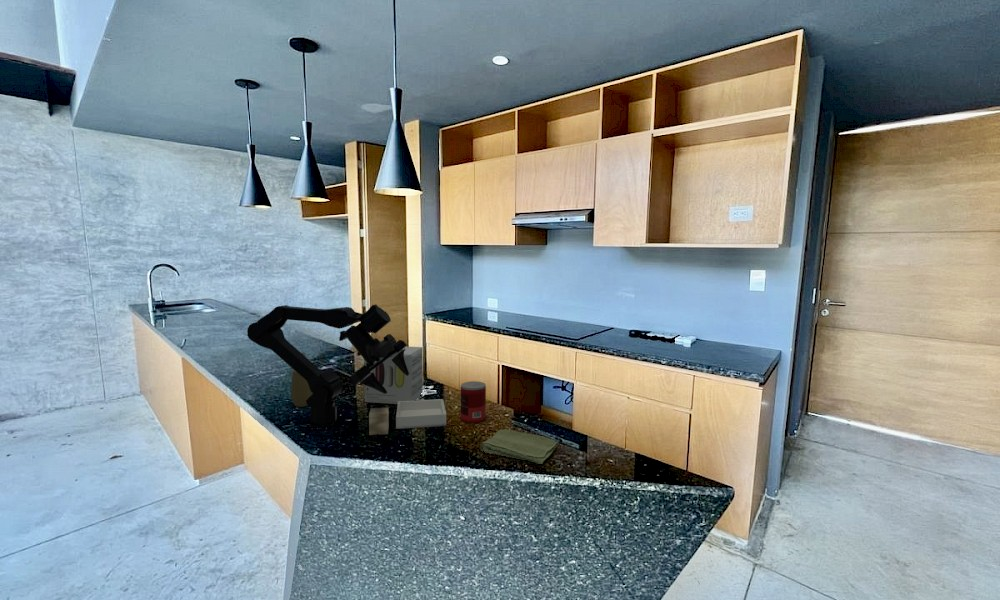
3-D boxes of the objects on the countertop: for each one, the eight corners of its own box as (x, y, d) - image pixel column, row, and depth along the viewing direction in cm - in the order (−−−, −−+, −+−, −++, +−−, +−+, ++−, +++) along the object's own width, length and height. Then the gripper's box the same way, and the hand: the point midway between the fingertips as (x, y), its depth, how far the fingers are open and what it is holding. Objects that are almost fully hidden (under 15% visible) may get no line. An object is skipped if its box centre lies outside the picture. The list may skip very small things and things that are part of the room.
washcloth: (543, 469, 97) (543, 456, 97) (478, 454, 105) (478, 442, 105) (559, 448, 109) (559, 436, 109) (499, 436, 117) (500, 425, 117)
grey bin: (396, 428, 120) (396, 417, 119) (398, 411, 134) (397, 401, 134) (446, 425, 123) (446, 414, 122) (442, 409, 137) (442, 399, 137)
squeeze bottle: (285, 406, 138) (283, 353, 136) (304, 399, 145) (303, 349, 144) (303, 409, 135) (301, 355, 133) (322, 402, 142) (321, 351, 141)
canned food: (489, 416, 131) (489, 382, 130) (477, 425, 123) (478, 389, 123) (468, 413, 134) (468, 380, 133) (455, 421, 127) (456, 386, 126)
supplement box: (363, 403, 142) (363, 351, 141) (379, 392, 156) (378, 345, 154) (411, 405, 140) (411, 353, 139) (423, 394, 154) (423, 346, 152)
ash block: (369, 435, 115) (369, 414, 115) (371, 428, 120) (370, 408, 120) (387, 434, 116) (387, 413, 116) (388, 427, 121) (388, 407, 121)
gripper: (348, 349, 108) (385, 394, 109) (397, 316, 122) (430, 357, 122) (335, 364, 116) (370, 406, 116) (383, 331, 130) (414, 369, 130)
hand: (397, 384), depth 121 cm, fingers open, 9 cm apart
